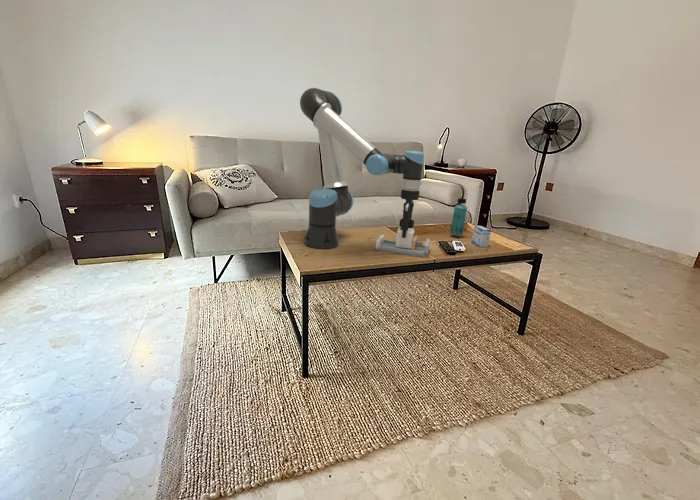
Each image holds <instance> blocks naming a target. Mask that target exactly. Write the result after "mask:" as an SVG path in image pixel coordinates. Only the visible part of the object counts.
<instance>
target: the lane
mask: <svg viewBox="0 0 700 500" xmlns="http://www.w3.org/2000/svg"><path fill="white" fill-rule="evenodd" d="M430 243H431V238H426V240H425V243H424V244H423V245H416V247H415V250H412V249H407V248H399V247H396V240H393V239H385V234H380V236H378V238H377V240H376V241H375V251H376V252H377V251H378V252H379V251H380V252H385V253H386V252H387V253H391V252H392V254H398V253H399V254H400V255H405V254H406V256H412V255H415V256H414V257H419V256H423V257H422V258H426V257H427V258H428V254H429V250H430Z"/></svg>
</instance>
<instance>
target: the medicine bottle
mask: <svg viewBox="0 0 700 500" xmlns="http://www.w3.org/2000/svg"><path fill="white" fill-rule="evenodd" d="M402 219H403V218H401V219H400V220H399V224H398V225H399V226H398V228H397V231H396V236H395V237H396V239H395V241H396V247H399V248H407V249H412V244H413V239H414V236H415V229H414V226H415V220H414V219H413V218H411V219H409V225H408V236H407V244H406V245H401V244H400V239H401V230H400V228H401V227H402ZM403 227H404V226H403Z"/></svg>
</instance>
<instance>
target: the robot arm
mask: <svg viewBox="0 0 700 500" xmlns="http://www.w3.org/2000/svg"><path fill="white" fill-rule="evenodd" d="M342 104H343V103H342V102H341V100H340V98H339V97H338V96H337V95H336V94H335V93H334V92H331V91H328V90H323V89H320V88H317V87H311V88H308V89H306V90H305V91H303V92H302V94H301V97H300V98H299V106H300V110H301V112H302V113H303V115H304V116H305V117H307V118H308V119H309V120H310V121H311V122H312V123H313V127H315V128H316V129H317V133H318V140H319V141H318V142H319V149H320V154H321V161H322V169H323V176H324V177H323V178H324V185H323V187H322V188H319V189H314V190H313V191H311V192H310V194H309V199H308V203H309V204H308V205H309V206H308V207H309V208H308V227H307V231H306V233H305V235H304V241H303V243H304V245H305V246H307V247H310V248H314V249H321V250H322V249H323V250H325V249H333V248H336V247H338V246H339V242H340V241H339V239H340V238H339V235H338V232H337V229H336V227H337V226H336V224H337V222H336V221H337V217H339V216H343V215H345V214H347V213H348V212H350V210H351V209H352V208H353V205H354V196H353V194H352V193H351V191H350V190H349V185H348V184H347V182H345V180H344V171H343V165H342V158H341V157H342V156H341V148H340V145H342V146H343V147H344V148H345V149H347V150H348V152H350V153H351V154H352V155H353V156H355V158H356V159H358V160H359V161H360V162H362V163H363V165H365V167H366V169H367V172H368V173H369V174H371V175H373V176H382V175H386V174H399V175H402V180H401V191H400V199H402V200H405V202H404V203H403V205H402V206H403V210H402V213H403V214H402V218H401V219H402V227H401V228H400V230H401V239H400V244H401V245H406V244H407V236H408V225H409V219H413V218H412V216H413V211H414V205H415V202H414V201H419V197H420V190H421V185H422V184H423V183H422V182H421V181H422V173H423V167H424V156H425V155H424V152H423V151H418V150H417V151H416V150H406V151H405V154H403V155H400V154H391V153H383V152H381V151H380V150H379V149H377V147H376V146H374V145H373V144H372V143H371V142H370V141H369V140H367V139H366V138H365V137H364V136H363V135H362V134H361V133H360V132H359V131H357V130H356V129H355V128H354V127H352V126H351V125H350V124H349V123H348V122H347V121H346V120H345V119H343V118H342V117H341V114H342V111H343V105H342ZM403 226H404V227H403Z"/></svg>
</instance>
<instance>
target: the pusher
mask: <svg viewBox="0 0 700 500" xmlns="http://www.w3.org/2000/svg"><path fill="white" fill-rule="evenodd" d="M416 245H424V241H418V235H415V234H414V238H413V244H412V250H415V247H416Z"/></svg>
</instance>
